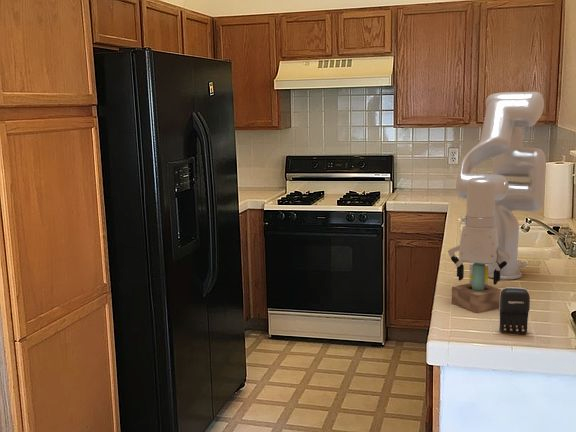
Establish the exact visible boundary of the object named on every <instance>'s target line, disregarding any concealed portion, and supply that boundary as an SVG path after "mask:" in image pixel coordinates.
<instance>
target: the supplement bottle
mask: <svg viewBox="0 0 576 432" xmlns="http://www.w3.org/2000/svg"><path fill="white" fill-rule="evenodd" d="M473 264H474V263H470V262H469V278H468V279H469V283H472V269H473ZM469 283H468V284H469ZM485 284H486V285H489V277H488V264H485Z"/></svg>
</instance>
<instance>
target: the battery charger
mask: <svg viewBox="0 0 576 432" xmlns="http://www.w3.org/2000/svg"><path fill="white" fill-rule="evenodd" d="M501 289H502V290H501V292H500V302H499V308H498V310H499V311H498V312H499V314H498V315H499V320H498V322H499V324H498V330H499V332H501V333H502V334H507V335H526V334H527V333H528V320H529V313H530V308H531V307H530V306H531V298H530V292H529V291H528V289H526V288H525V287H510V286H509V287H508V286H507V287H504V288H501Z"/></svg>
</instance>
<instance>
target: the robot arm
mask: <svg viewBox="0 0 576 432" xmlns="http://www.w3.org/2000/svg"><path fill="white" fill-rule="evenodd" d="M544 108H545V100H544V97H543V95H542V93H541V92H539V91H505V92H504V91H503V92H501V91H500V92H496V93H495V92H494V93H491V94H489V95H488V96H487V97H486V99H485V115H484V116H485V117H484V120H483V125H482V131H481V136H480V140H479V142H478V143H477V144H476V145H475V146H473V147H472V148H471V149H470V150H469V151H468V152H467V153H466V154H465V155H464V157H463V159H462V160H461V162H460V164H459V168H458V172H457V173H458V174H457V178H456V186H455V189H456V194H457V196H458V197H459V198H461V199H463V200H466V212H465V213H466V215H465V216H461V217H460V222H462V223H464V225H463V226H462V229H461V234H460V241H459V245H456V246H455V247H452V248H449V249H448V250H447V253H448V255H449V257H450V260H451V262H453V264H455V267H456V277H458V281H462V280H463V279H464V278H465V277H464V273H465V272H464V271H465V265H464V264H463V263H469V264H470V263H479V264H488V279H492V280H493V282H492V284H493V285H497V284H498V283H499V282H500V281H501V280H502V281H503V280H505V281H506V280H518V279H520V278H522V276H523V274H522V272H521V270H520V269H521V268H527V266H528V263H527V261H524V260H523V261H518V255H519V254H518V253H519V230H520V224H519V221H518V219H517V217H516V215H514V213H513V212H515V211H517V212H539V211H540V210H541V209H542V208H543V206H544V205H543V204H544V200H545V186H546V172H547V171H546V170H547V169H546V167H547V159H546V154H545V152H544V151H543V150H542V149H541V148H536V147H523V135H524V134H523V130H522V128H530V127H531V128H532V127H533V126H535V125H536V124H537V123H538V120H539V119H541V117H542V115H543V113H544V112H543V111H544ZM492 158H493V164H492V165H493V171H494V174H493V173H491V174H489V173H488V174H487V173H472V171H473V169H475V167H476V166H478V165H479V164H481V163H482V162H485V161H488V160H491V159H492ZM508 177H509V178H526V179H528V180H529V181H517V180H507V178H508ZM457 252H458V253H459V254H458V256H456V253H457ZM458 257H459V258H458Z"/></svg>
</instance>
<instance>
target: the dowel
mask: <svg viewBox="0 0 576 432" xmlns="http://www.w3.org/2000/svg"><path fill="white" fill-rule="evenodd" d="M484 284H485V264H479V263H474V264H473V269H472V290H474V291H476V292H479V291H484Z"/></svg>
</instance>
